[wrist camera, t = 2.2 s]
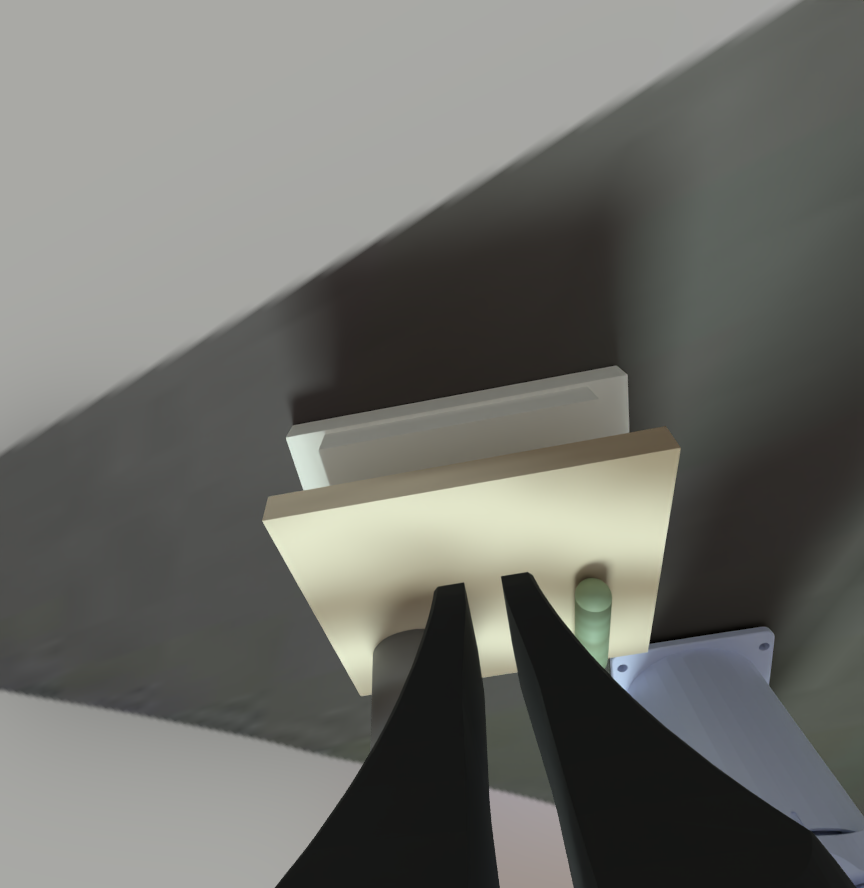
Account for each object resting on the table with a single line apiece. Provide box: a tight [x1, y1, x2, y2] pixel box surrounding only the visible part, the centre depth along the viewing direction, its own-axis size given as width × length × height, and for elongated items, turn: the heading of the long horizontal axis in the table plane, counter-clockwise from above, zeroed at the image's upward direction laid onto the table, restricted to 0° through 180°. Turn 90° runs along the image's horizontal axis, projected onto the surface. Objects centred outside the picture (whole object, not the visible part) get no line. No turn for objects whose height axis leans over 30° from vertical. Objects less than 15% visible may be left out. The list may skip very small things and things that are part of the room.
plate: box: [262, 426, 681, 752], centre depth 17 cm, size 11×12×5 cm
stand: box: [286, 365, 629, 490], centre depth 22 cm, size 12×13×3 cm
